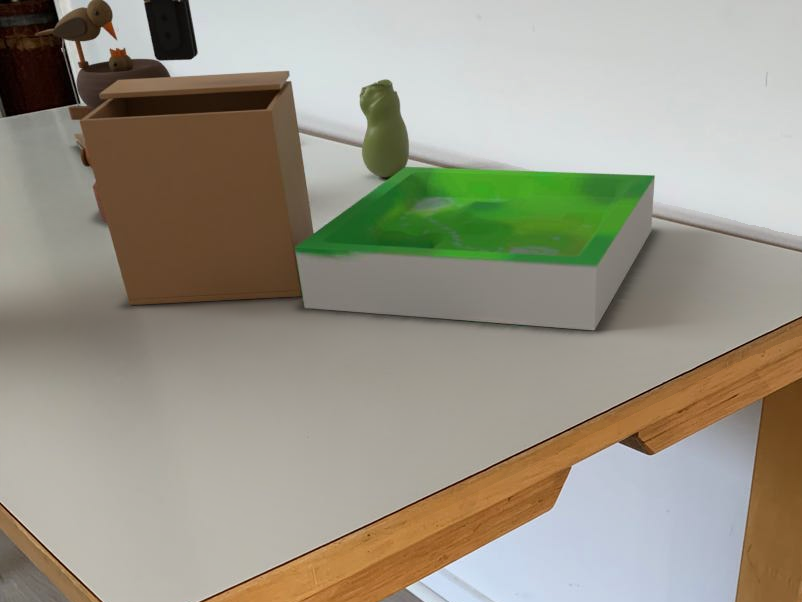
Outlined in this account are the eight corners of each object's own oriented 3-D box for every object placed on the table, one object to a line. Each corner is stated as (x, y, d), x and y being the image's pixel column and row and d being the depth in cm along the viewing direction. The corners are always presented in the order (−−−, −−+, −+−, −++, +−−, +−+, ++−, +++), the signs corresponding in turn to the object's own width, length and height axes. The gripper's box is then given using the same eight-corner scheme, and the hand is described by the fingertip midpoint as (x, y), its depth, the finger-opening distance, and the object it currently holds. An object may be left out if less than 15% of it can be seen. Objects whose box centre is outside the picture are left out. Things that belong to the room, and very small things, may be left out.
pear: (395, 184, 111) (386, 85, 105) (355, 181, 113) (344, 83, 107) (419, 172, 115) (411, 75, 109) (380, 168, 117) (370, 73, 111)
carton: (129, 305, 85) (79, 120, 76) (161, 259, 94) (120, 90, 85) (301, 296, 85) (271, 110, 76) (316, 251, 94) (291, 80, 85)
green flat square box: (651, 231, 94) (654, 175, 91) (594, 330, 76) (596, 265, 73) (409, 219, 101) (405, 166, 98) (304, 307, 83) (294, 247, 80)
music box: (76, 232, 102) (14, 5, 91) (96, 211, 111) (41, 2, 100) (223, 218, 104) (179, -7, 92) (231, 199, 113) (192, -9, 101)
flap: (100, 99, 80) (98, 93, 80) (119, 85, 85) (117, 79, 85) (280, 89, 80) (279, 83, 80) (289, 75, 85) (289, 70, 84)
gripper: (147, -251, 63) (204, 73, 75) (195, -235, 75) (238, 43, 86) (31, -247, 63) (106, 76, 75) (97, -232, 75) (153, 45, 86)
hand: (177, 57), depth 81 cm, fingers closed
